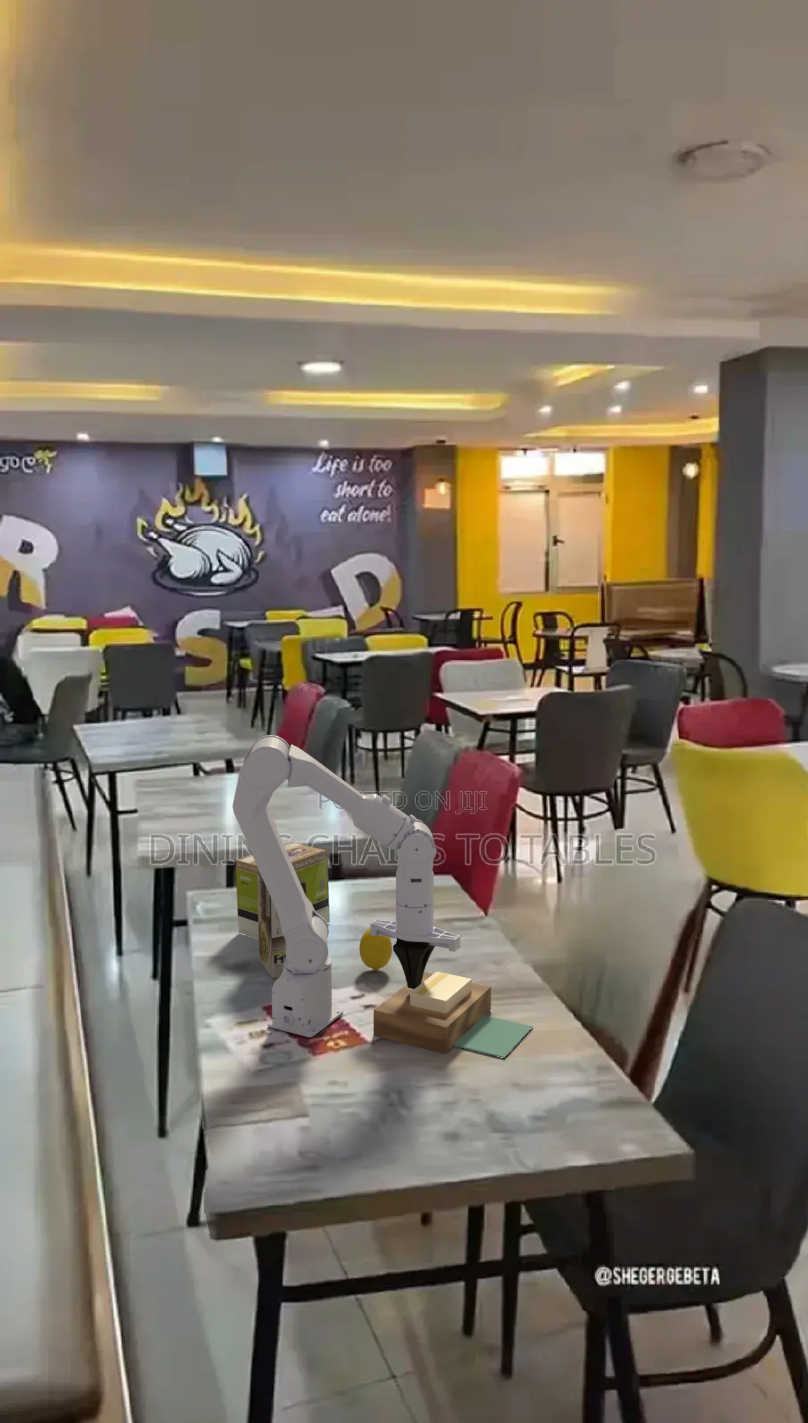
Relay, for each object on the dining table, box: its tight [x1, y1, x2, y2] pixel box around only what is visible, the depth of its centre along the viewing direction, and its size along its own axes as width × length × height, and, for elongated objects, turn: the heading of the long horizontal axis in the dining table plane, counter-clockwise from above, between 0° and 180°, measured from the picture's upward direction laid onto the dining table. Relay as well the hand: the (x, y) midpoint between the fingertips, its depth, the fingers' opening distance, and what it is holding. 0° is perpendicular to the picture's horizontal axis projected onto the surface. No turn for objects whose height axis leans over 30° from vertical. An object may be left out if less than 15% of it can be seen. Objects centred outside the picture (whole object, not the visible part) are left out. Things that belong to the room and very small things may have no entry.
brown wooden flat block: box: [373, 971, 492, 1054], centre depth 164 cm, size 16×12×4 cm
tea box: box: [235, 841, 331, 941], centre depth 202 cm, size 15×10×15 cm
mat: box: [454, 1015, 534, 1059], centre depth 160 cm, size 11×8×1 cm
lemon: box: [358, 928, 393, 972], centre depth 183 cm, size 6×6×8 cm
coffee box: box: [257, 873, 306, 979], centre depth 184 cm, size 9×6×16 cm
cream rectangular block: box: [410, 971, 473, 1014], centre depth 164 cm, size 9×6×2 cm, turn 152°
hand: (414, 986), depth 166 cm, fingers closed
